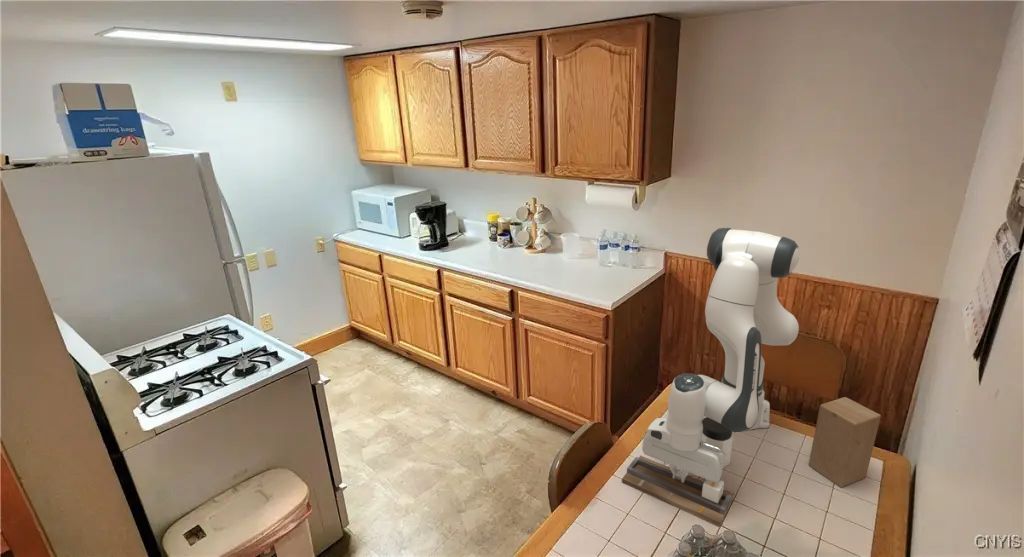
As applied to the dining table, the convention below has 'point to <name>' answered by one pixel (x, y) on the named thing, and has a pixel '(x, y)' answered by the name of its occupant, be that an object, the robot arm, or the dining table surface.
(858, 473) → the wooden block
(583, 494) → the dining table surface
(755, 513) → the dining table surface
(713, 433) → the jar
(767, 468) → the dining table surface
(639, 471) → the slider track
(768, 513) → the dining table surface
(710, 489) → the fader knob
